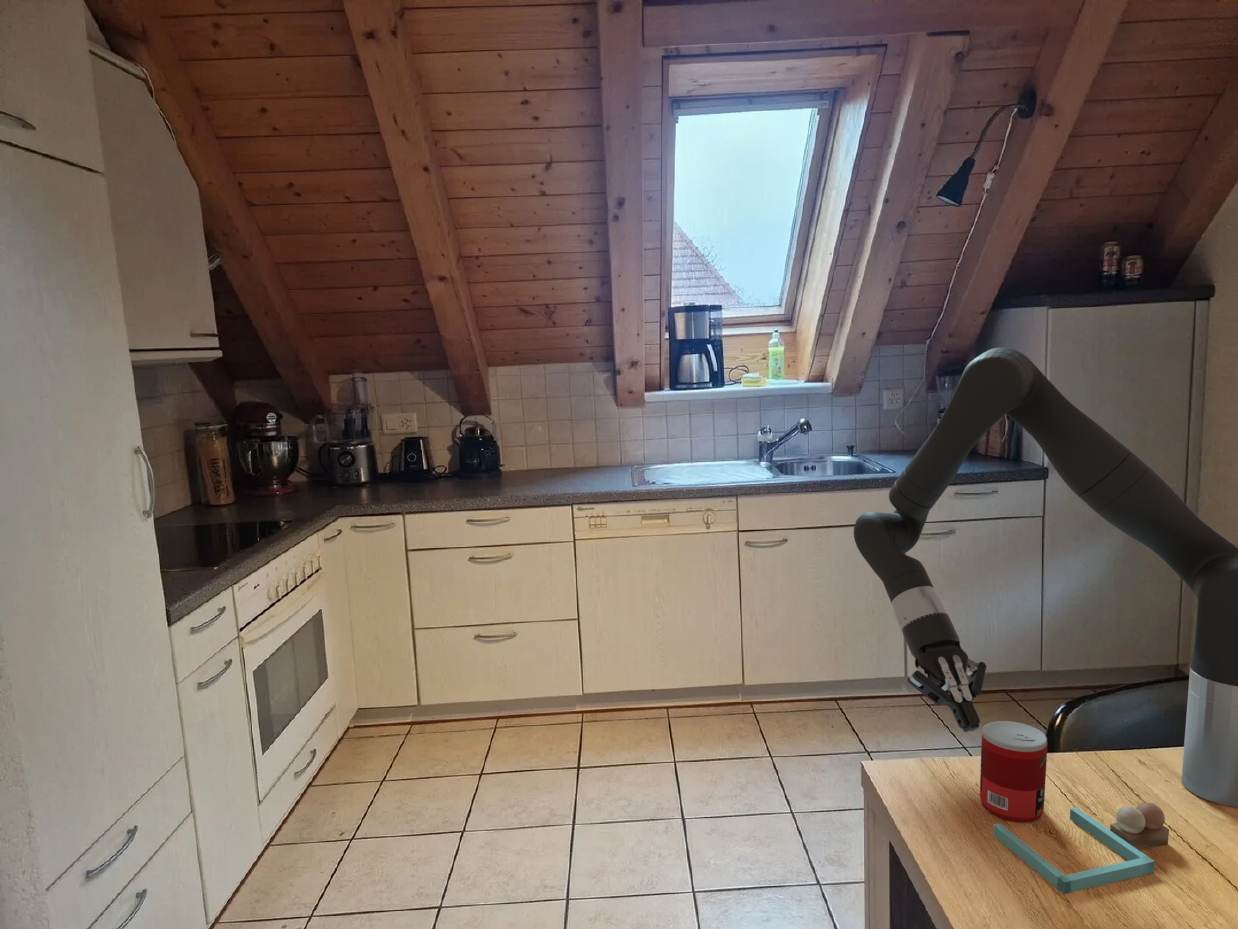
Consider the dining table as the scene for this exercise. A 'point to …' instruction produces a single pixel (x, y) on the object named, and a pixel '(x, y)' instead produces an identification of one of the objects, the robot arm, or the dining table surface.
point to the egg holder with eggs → (1141, 826)
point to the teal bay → (1089, 878)
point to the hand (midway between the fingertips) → (972, 729)
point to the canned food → (1013, 771)
